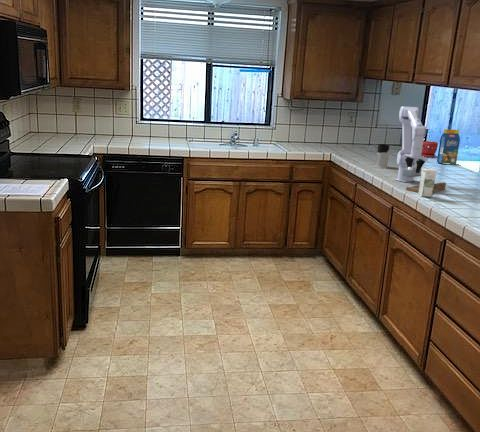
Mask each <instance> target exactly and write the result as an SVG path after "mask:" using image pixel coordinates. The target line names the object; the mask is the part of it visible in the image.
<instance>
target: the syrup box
mask: <svg viewBox="0 0 480 432" xmlns="http://www.w3.org/2000/svg"><path fill="white" fill-rule="evenodd" d="M421 169H422V171H421V176H419V177H420V179H419V184H418V185H419V190H418V193H417V195H418V196H420V197H423V198H424V197H425V198H432V197H433V194H434V192H433V189H434V184H436V183H435V181H436V176H437V170H436V169H435V168H431V167H429V168H425V167H424V168H423V167H422V168H421Z"/></svg>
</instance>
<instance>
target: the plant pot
mask: <svg viewBox="0 0 480 432" xmlns="http://www.w3.org/2000/svg"><path fill="white" fill-rule="evenodd" d="M438 148H439V142H438V141H430V140H429V141H428V140H427V141H426V140H425V141H424V140H423V146H422V153H421V156H425V157H427V158H430V157H433V158H435V157H436V156H437V155H436V153H437V151H438Z"/></svg>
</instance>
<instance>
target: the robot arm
mask: <svg viewBox="0 0 480 432" xmlns="http://www.w3.org/2000/svg"><path fill="white" fill-rule="evenodd" d="M419 111H420V110H419V107H417V106H404V105H403V106H400V108H399V113H398V116H399V117H398V118H399V119H398V120H399V122H400V123H401V127H402V130H401V131H402V137H401V138H402V141H401V143H402V144H401V147H402V148H401V150H399V152H397V156H396V157H397V158H396V164H397V165H398V172H397V178H394V179H393V180H395V181H398V182H403V183H410V182H414V181H415V179H414V178H415V177H406V176H403V170H404V169H407V168H408V167H413V168H414V167H415V165H416V166H417V169H416V173H419V172H420V170H421V169H422V168H423V166H424V165H425V163H426V162H428V160H429V157H423V156H421V153H422V146H423V141H424V139H425V137H426V135H427V127H426V126H425V125H423V123H422V121H421V119H419V118H418V116H419V113H420V112H419ZM411 129H412V130H411Z"/></svg>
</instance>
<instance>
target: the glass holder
mask: <svg viewBox="0 0 480 432" xmlns="http://www.w3.org/2000/svg"><path fill="white" fill-rule="evenodd" d="M377 145H378V146H377V151H376V147H375V146H373V145H370V146H369V147H368V149H367V150H368V151H367V153H368V156H369V158H370V159H371V160H373V162H374V167H375V168H379V169H388V162H389V155H390V145H389V144H385V143H384V144H383V143H381V144H377ZM371 147H372V148H374V151H373V152H374V153H376V157H375V158H376V159H375V160H374V158H372V157H371V155H370V148H371Z"/></svg>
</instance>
